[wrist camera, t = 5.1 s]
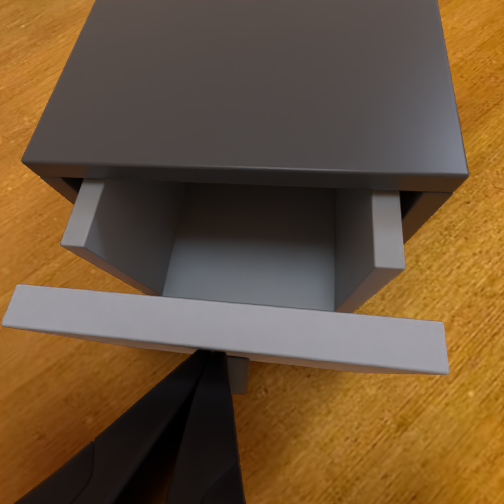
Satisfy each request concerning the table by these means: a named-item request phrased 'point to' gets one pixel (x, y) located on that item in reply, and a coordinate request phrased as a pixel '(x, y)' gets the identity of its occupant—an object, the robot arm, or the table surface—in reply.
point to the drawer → (238, 276)
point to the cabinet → (258, 99)
